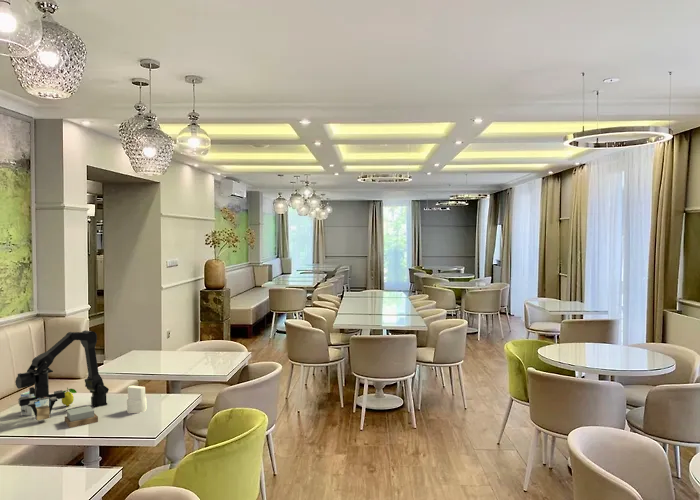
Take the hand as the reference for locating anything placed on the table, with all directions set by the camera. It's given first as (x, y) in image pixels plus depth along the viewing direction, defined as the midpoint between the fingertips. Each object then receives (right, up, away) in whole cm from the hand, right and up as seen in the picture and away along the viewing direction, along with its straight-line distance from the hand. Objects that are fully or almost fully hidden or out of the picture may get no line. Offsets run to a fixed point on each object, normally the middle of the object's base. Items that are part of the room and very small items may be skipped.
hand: (42, 415), depth 247 cm
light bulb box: (-13, -3, +14) cm, 19 cm away
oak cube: (0, -1, 0) cm, 1 cm away
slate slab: (+19, 0, -1) cm, 19 cm away
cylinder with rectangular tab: (+40, -2, +13) cm, 42 cm away
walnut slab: (+19, -3, -1) cm, 19 cm away
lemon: (0, -3, +23) cm, 23 cm away
